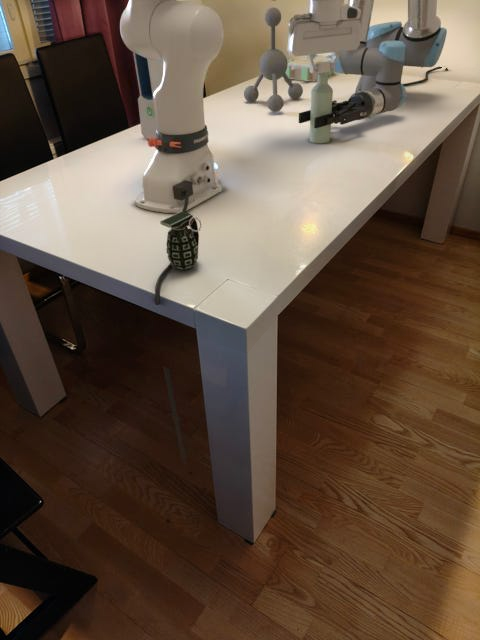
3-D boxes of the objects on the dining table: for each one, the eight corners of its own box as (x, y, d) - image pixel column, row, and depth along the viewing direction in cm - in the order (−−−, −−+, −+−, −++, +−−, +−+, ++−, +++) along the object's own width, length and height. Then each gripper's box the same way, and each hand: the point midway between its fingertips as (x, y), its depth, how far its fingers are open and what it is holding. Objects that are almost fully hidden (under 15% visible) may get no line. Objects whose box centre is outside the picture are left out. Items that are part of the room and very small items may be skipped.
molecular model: (322, 103, 175) (328, 5, 157) (274, 116, 166) (273, 12, 147) (282, 92, 191) (282, 1, 172) (235, 103, 181) (230, 8, 163)
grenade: (182, 278, 88) (175, 228, 82) (162, 268, 91) (153, 219, 85) (208, 263, 92) (203, 214, 85) (187, 253, 95) (181, 205, 89)
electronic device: (141, 137, 154) (123, 28, 136) (159, 131, 158) (144, 24, 140) (166, 145, 147) (151, 30, 129) (185, 138, 151) (172, 26, 133)
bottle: (333, 138, 145) (337, 72, 134) (323, 144, 141) (327, 77, 130) (315, 135, 148) (318, 71, 137) (305, 141, 144) (307, 75, 133)
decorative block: (305, 52, 220) (345, 55, 211) (304, 68, 224) (344, 71, 215) (274, 63, 204) (317, 66, 195) (274, 80, 208) (316, 84, 199)
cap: (312, 70, 134) (312, 62, 133) (326, 68, 135) (327, 61, 134) (317, 73, 131) (317, 65, 130) (332, 71, 132) (332, 63, 130)
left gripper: (294, 16, 120) (292, 77, 128) (366, 9, 125) (360, 69, 133) (283, 14, 124) (282, 73, 133) (353, 8, 130) (348, 65, 138)
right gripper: (387, 124, 144) (329, 141, 134) (341, 111, 157) (285, 127, 147) (390, 97, 140) (331, 113, 130) (343, 86, 152) (286, 100, 142)
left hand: (322, 71), depth 133 cm, fingers closed on cap, 4 cm apart
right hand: (307, 120), depth 138 cm, fingers closed on bottle, 6 cm apart
